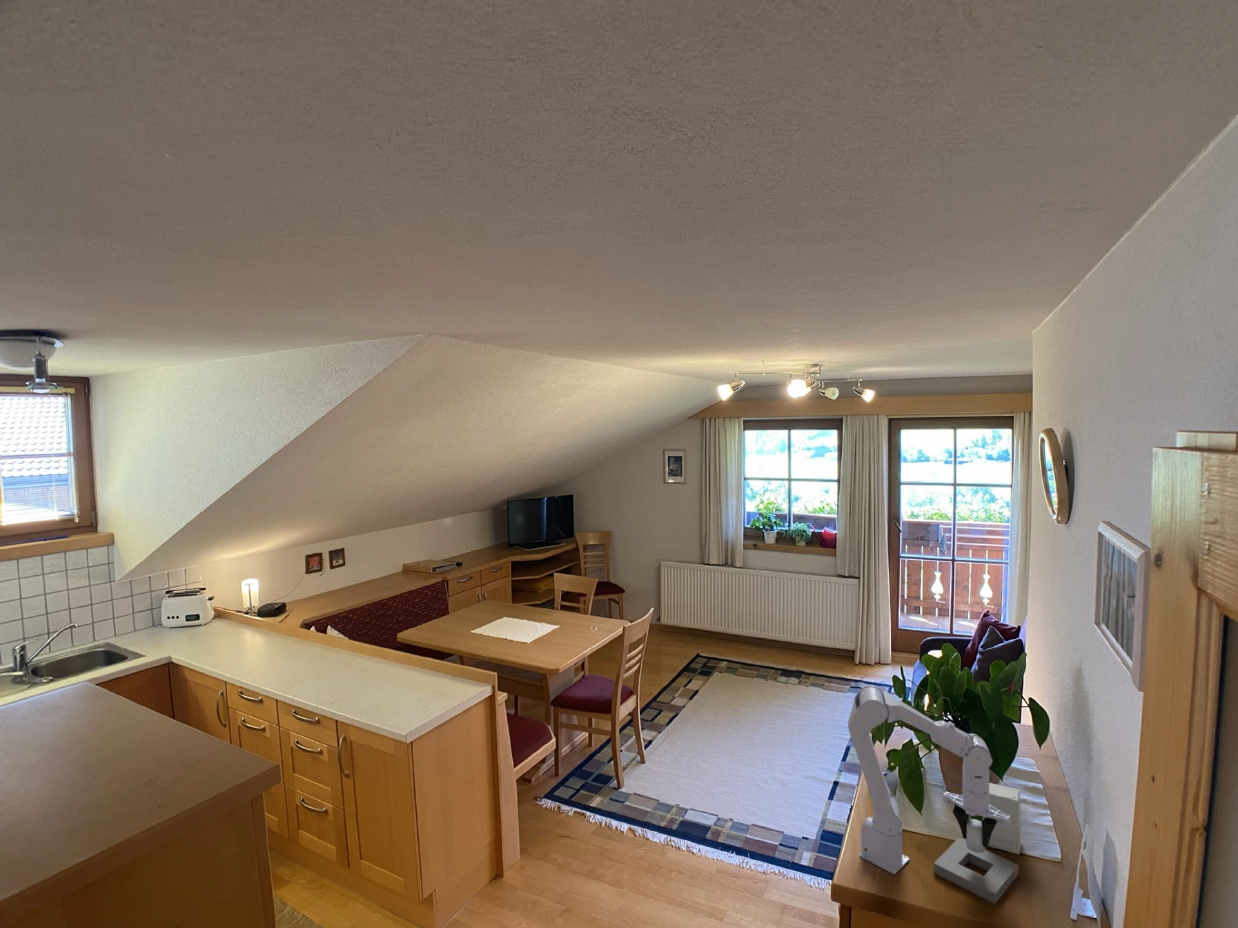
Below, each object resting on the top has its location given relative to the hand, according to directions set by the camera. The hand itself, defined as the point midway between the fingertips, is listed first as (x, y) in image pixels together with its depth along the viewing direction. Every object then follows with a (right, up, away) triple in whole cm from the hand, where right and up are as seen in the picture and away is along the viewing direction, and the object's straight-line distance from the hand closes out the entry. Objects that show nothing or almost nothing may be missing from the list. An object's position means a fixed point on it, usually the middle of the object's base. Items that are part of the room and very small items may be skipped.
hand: (975, 840), depth 159 cm
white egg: (0, -2, 0) cm, 2 cm away
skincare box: (+13, -7, +11) cm, 18 cm away
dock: (0, -9, +1) cm, 8 cm away
